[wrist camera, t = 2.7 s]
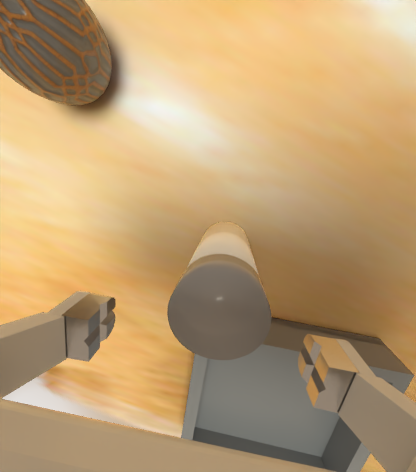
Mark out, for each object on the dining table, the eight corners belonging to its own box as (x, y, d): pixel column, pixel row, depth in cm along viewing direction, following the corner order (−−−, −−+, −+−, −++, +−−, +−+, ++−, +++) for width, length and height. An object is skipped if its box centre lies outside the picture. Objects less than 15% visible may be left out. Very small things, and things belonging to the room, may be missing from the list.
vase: (142, 77, 17) (50, -32, 8) (87, 133, 18) (-37, 91, 10) (85, -5, 15) (-88, -227, 7) (32, 63, 17) (-159, -52, 9)
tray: (379, 338, 20) (414, 375, 16) (324, 454, 25) (341, 504, 21) (204, 304, 21) (198, 331, 18) (184, 421, 26) (177, 462, 22)
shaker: (253, 225, 19) (283, 281, 8) (243, 269, 20) (258, 369, 9) (204, 217, 19) (172, 261, 8) (198, 261, 20) (163, 348, 10)
